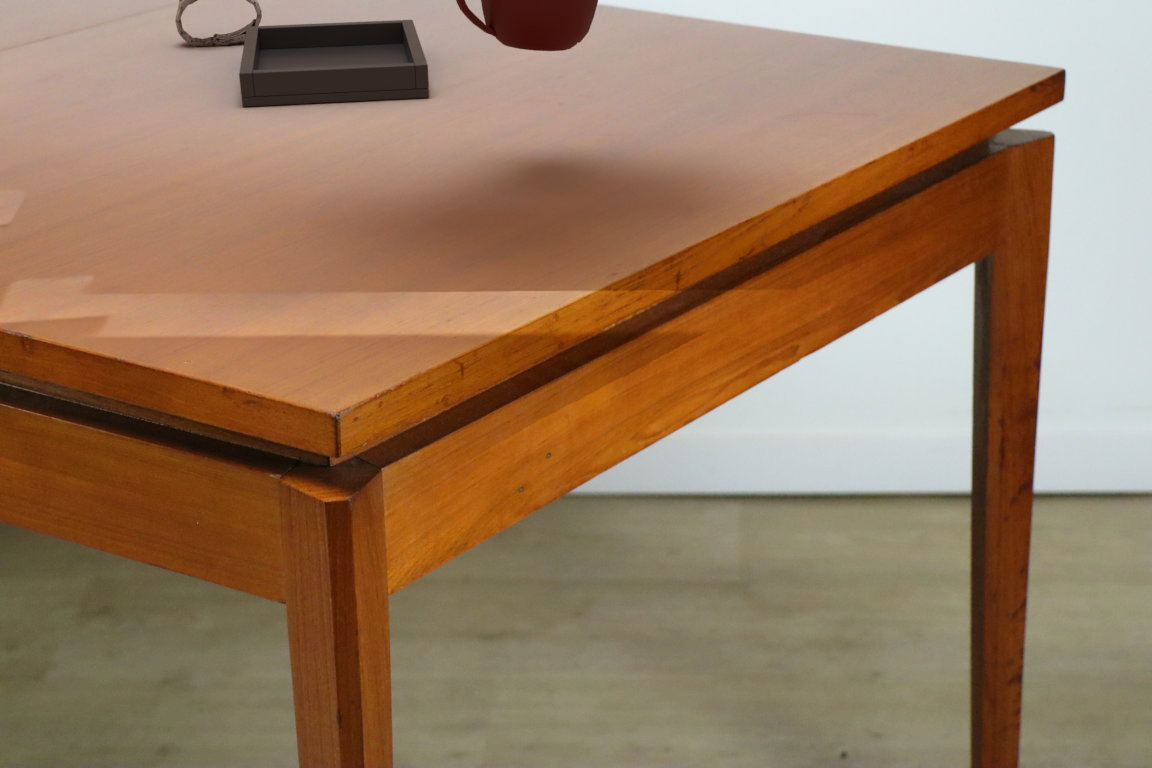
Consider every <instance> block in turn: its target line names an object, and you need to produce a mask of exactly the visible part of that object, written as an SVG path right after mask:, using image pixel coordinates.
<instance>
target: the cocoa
mask: <svg viewBox="0 0 1152 768" xmlns="http://www.w3.org/2000/svg"><path fill="white" fill-rule="evenodd" d="M455 1H456V5H458V8H459V10H460V11H461V12H462V14H463V15H464V16H465V17H466V19H467V20H469V22H470V23H472V24H473V25H474V26H475V27H477V28H479V30H481V31H483V32H484V33H485V34H488V35H490V36H493V37H494V38H495V39H496V40H497V41H498V42H499V43H500V44H502V45H504V46H505V47H508V48H514V49H518V50H525V51H526V50H527V51H536V52H537V51H538V52H563V51H567V50H571V49H572V48H573V47H575V46H577V45H578V44H579V43H581V42H582V41H583V40H584V38H585V37H586V36H587V35H588V33H589V31H590V29H591V26H592V23H593V20H594V19H595V15H596V11H597V7H598V3H599V0H480V4H481V10H482V16H483V18H484V21H482V20H481V19H480V18H479V17H478V16H477V15H476V14H475V13H474V12H473V11H472V10H471V9H470V8H469V6H468V5H467V2H466V0H455Z"/></svg>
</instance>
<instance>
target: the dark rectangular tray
mask: <svg viewBox="0 0 1152 768" xmlns="http://www.w3.org/2000/svg"><path fill="white" fill-rule="evenodd" d="M243 43H244V44H243V50H242V55H241V61H240V67H239V73H238V76H239V85H240V95H241V104H242V107H243V108H246V107H247V108H248V107H266V106H283V105H284V106H288V105H305V104H306V105H307V104H326V103H327V104H329V103H346V102H347V103H350V102H366V101H368V102H369V101H390V100H408V99H409V100H410V99H411V100H412V99H428V98H430V89H429V88H430V84H429V83H430V82H429V65H428V61H427V59H426V56H425V54H424V49H423V47H422V44H421V41H420V38H419V34H418V32H417V29H416V25H415V22H414V20H413V19H402V20H401V19H396V20H395V19H394V20H371V21H370V20H369V21H368V20H367V21H347V22H345V21H344V22H326V23H325V22H323V23H322V22H321V23H301V24H297V23H296V24H277V25H275V24H274V25H273V24H272V25H259V26H249V27H247V31H246V37H245V41H244V42H243Z"/></svg>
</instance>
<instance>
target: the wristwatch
mask: <svg viewBox="0 0 1152 768" xmlns="http://www.w3.org/2000/svg"><path fill="white" fill-rule="evenodd" d="M245 1H246V2H247V3H249V4H251V5H253V8H254V10H255V12H256V13H255V14H256V17H255V18H253V19H252V20H251V22H249V23H248V24H246V25H245V26H243V27H242V28H240V29H237V30H235V31H233V32H229V33H228V32H227V33H214V34H213V36H210V37H205V38H199V37H192V36H191V34H190V33H188V32H187V31H186V30H185V29H184V28H183V24H182V15H183V13H184V12H185V10H186V9H187V7H188V6H190V5H192V4H194V3H196V2H198V0H179V1H178V5H177V10H176V15H175V20H174V21H175V26H176V29H177V32H178V34H179V36H180V37H181V38H182V39H183V40H184V41H185V42H186V43H187V44H189V45H191V46H192V47H193V48H194V47H213V46H215V47H217V46H222V47H223V46H230V45H231V46H232V45H238V44H240V43H244V42H245V37H246V31H247V27H249V26H258V27H259V26H260V23H261V21H262V17H263V13H262V12H263V11H262V8H261V6H260V4H259V2H258V0H245Z"/></svg>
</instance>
